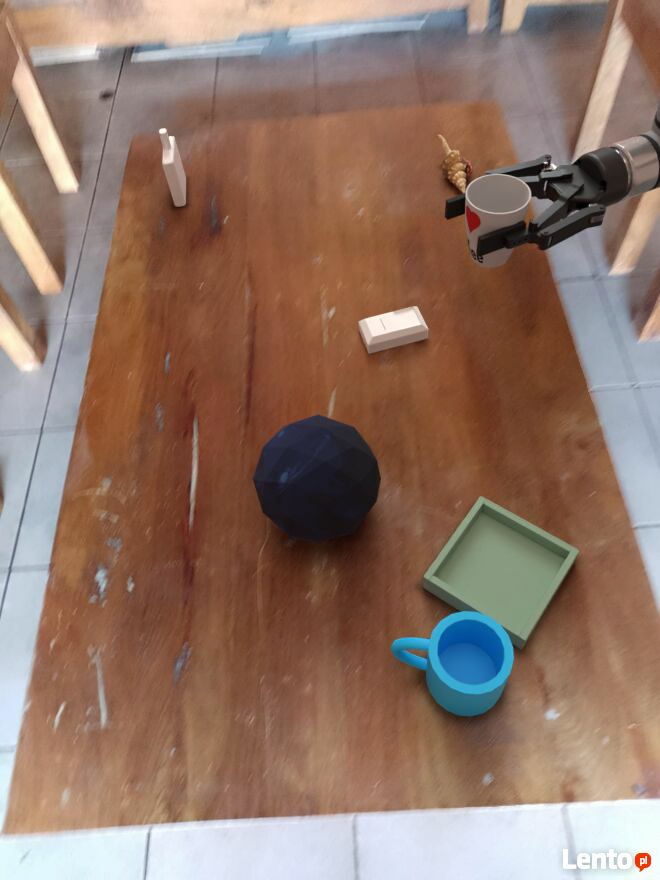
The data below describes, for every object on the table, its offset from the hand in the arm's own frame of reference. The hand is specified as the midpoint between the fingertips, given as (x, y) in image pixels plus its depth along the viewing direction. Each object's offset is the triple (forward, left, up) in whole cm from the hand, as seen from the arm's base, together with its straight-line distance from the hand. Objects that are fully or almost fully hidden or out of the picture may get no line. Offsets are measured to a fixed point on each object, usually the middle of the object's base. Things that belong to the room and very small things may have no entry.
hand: (462, 227), depth 92 cm
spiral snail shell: (+18, -29, -16) cm, 38 cm away
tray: (-25, +32, -16) cm, 44 cm away
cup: (-2, -4, -7) cm, 8 cm away
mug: (-26, +45, -16) cm, 55 cm away
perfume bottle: (+57, 0, -16) cm, 59 cm away
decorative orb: (-3, +37, -16) cm, 40 cm away
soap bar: (+6, +8, -16) cm, 19 cm away
